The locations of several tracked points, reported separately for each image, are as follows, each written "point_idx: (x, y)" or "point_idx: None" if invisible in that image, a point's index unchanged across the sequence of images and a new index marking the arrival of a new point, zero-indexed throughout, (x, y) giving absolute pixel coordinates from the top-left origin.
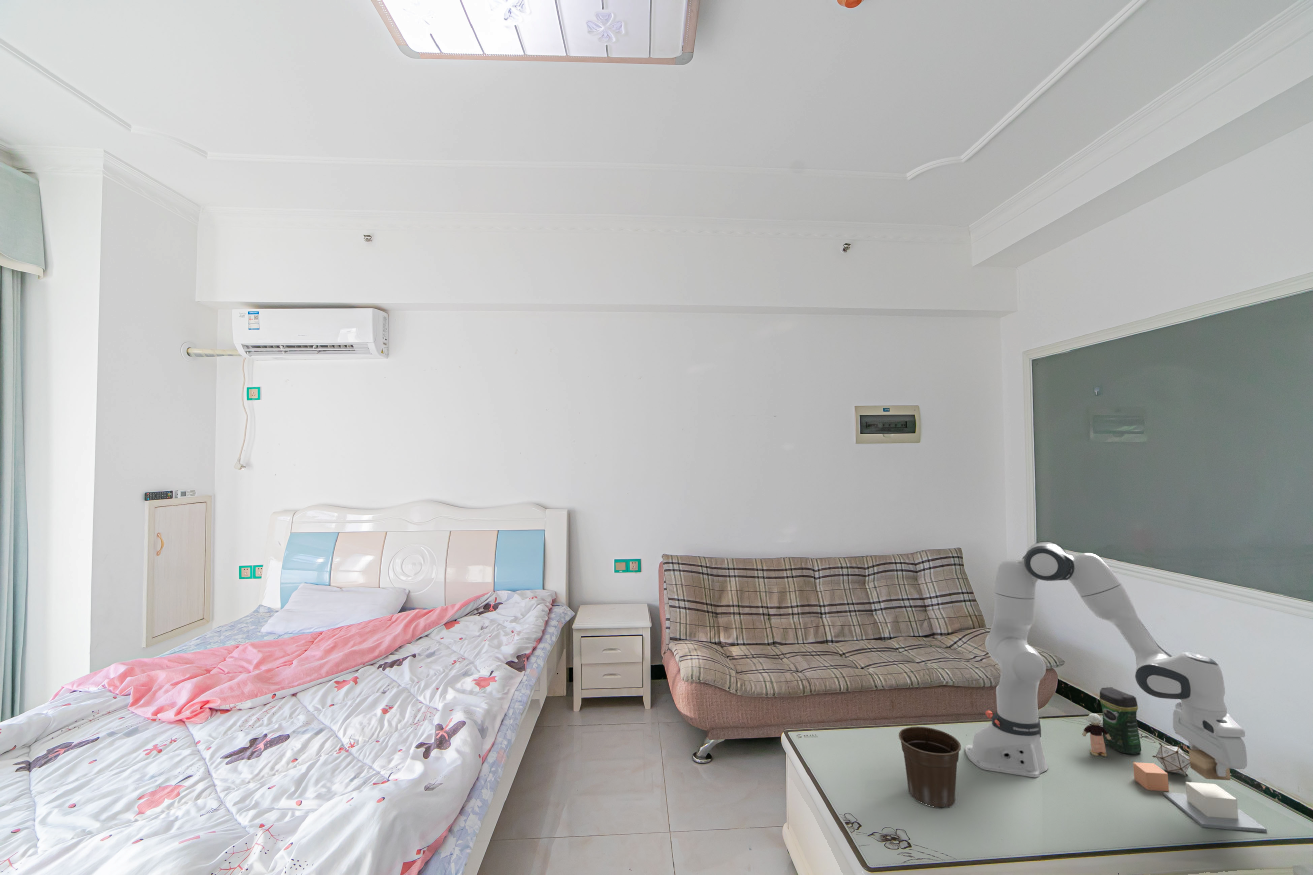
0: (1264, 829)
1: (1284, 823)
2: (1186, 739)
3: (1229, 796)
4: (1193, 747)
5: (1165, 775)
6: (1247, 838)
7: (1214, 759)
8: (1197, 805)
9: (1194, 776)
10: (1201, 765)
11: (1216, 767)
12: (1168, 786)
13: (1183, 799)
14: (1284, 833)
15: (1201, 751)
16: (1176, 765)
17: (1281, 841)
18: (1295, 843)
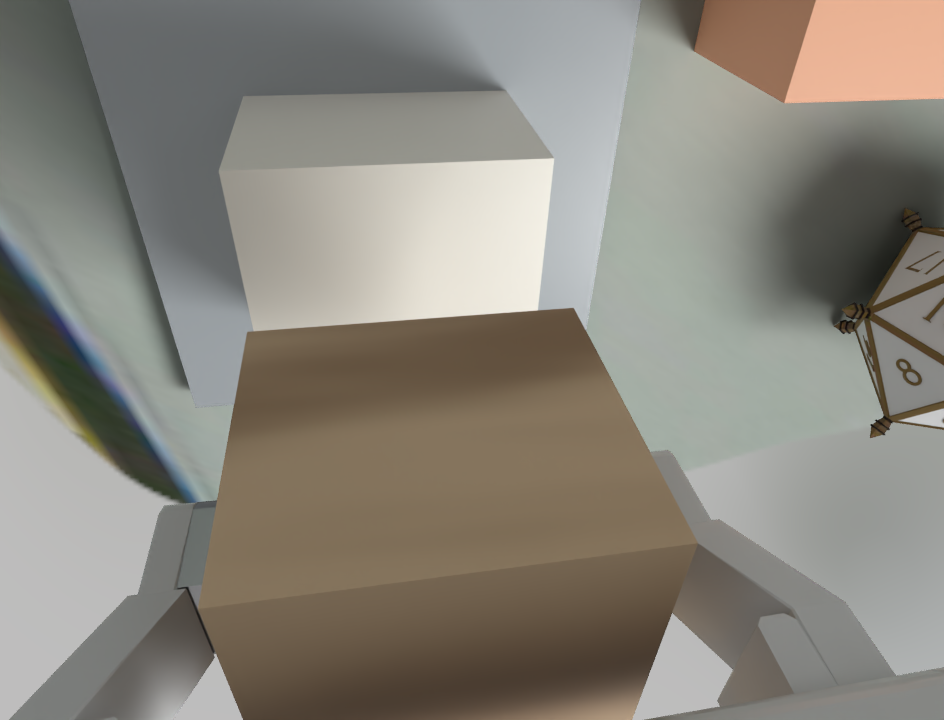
0: (195, 393)
1: None
2: (916, 697)
3: None
4: (759, 608)
5: (777, 70)
6: (25, 228)
7: (283, 711)
8: (370, 103)
9: (822, 359)
10: (330, 443)
11: (156, 606)
12: (715, 62)
13: (523, 67)
14: (219, 463)
15: (587, 658)
16: (902, 302)
17: (99, 409)
18: (111, 461)
